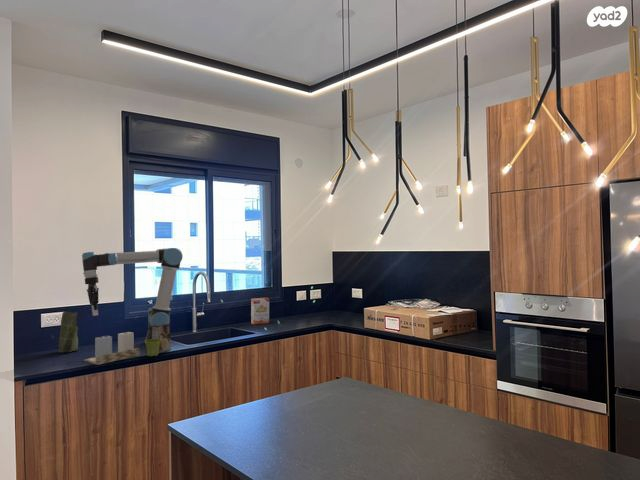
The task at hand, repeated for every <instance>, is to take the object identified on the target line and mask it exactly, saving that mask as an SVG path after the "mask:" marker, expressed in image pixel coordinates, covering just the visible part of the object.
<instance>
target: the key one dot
mask: <svg viewBox="0 0 640 480" xmlns="http://www.w3.org/2000/svg"><path fill="white" fill-rule="evenodd" d="M134 335H135V333H134V332H131V331H127V332H120V333H117V352H122V351H127V350H131V349H135V343H134V342H135V340H134V339H135V337H134Z"/></svg>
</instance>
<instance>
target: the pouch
mask: <svg viewBox="0 0 640 480" xmlns="http://www.w3.org/2000/svg"><path fill="white" fill-rule="evenodd" d="M61 314H62V316H61V318H60V319H61V320H60V329H59V330H60V331H59V337H58V340H59V341H58V350H57V351H58V353H60V354H62V353H63V354H64V353H72V352H79V351H78V350H79V337H78V331H79V326H78V325H77V324H78V321H77V320H78V317H77V316H78V312H77V311H74V312H71V311H65V310H64V311H63V312H62V313H61Z"/></svg>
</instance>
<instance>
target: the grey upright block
mask: <svg viewBox="0 0 640 480" xmlns="http://www.w3.org/2000/svg"><path fill="white" fill-rule="evenodd" d="M94 346H95V347H94V351H95V354H94V355H95V356H94V357H95V360H97V357H99V356H104V355H109V354H112V353H113V336H110V335H103V336H100V337H95V339H94Z"/></svg>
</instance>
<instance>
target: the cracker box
mask: <svg viewBox="0 0 640 480" xmlns="http://www.w3.org/2000/svg"><path fill="white" fill-rule="evenodd" d="M250 303H251V304H250V305H251V306H250V309H251V310H250V320H251V321H250V322H251V325H264V324H265V325H266V324H270V298H269V297H257V298H251V299H250Z"/></svg>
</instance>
